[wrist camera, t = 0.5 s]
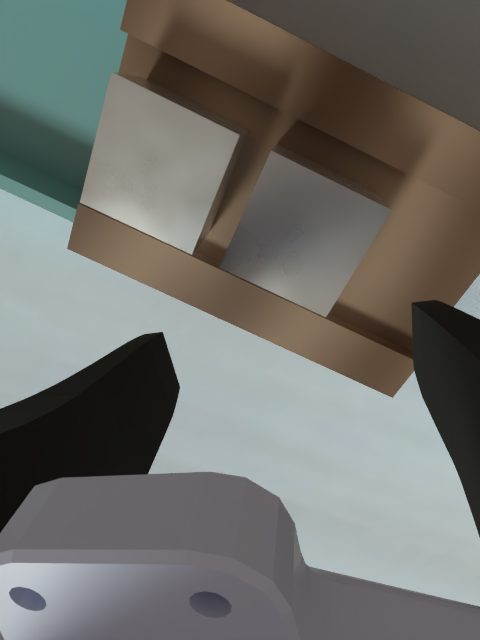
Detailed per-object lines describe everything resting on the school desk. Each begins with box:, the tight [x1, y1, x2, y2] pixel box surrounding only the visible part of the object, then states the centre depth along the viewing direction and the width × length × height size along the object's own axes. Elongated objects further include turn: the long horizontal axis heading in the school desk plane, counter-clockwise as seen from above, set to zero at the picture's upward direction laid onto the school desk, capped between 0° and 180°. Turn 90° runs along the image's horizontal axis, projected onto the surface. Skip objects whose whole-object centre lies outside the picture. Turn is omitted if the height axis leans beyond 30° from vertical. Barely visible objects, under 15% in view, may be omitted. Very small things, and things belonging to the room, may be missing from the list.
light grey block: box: [80, 72, 251, 255], centre depth 14 cm, size 4×4×3 cm
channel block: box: [67, 0, 480, 398], centre depth 17 cm, size 15×10×5 cm, turn 66°
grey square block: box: [219, 143, 392, 317], centre depth 15 cm, size 4×4×3 cm
